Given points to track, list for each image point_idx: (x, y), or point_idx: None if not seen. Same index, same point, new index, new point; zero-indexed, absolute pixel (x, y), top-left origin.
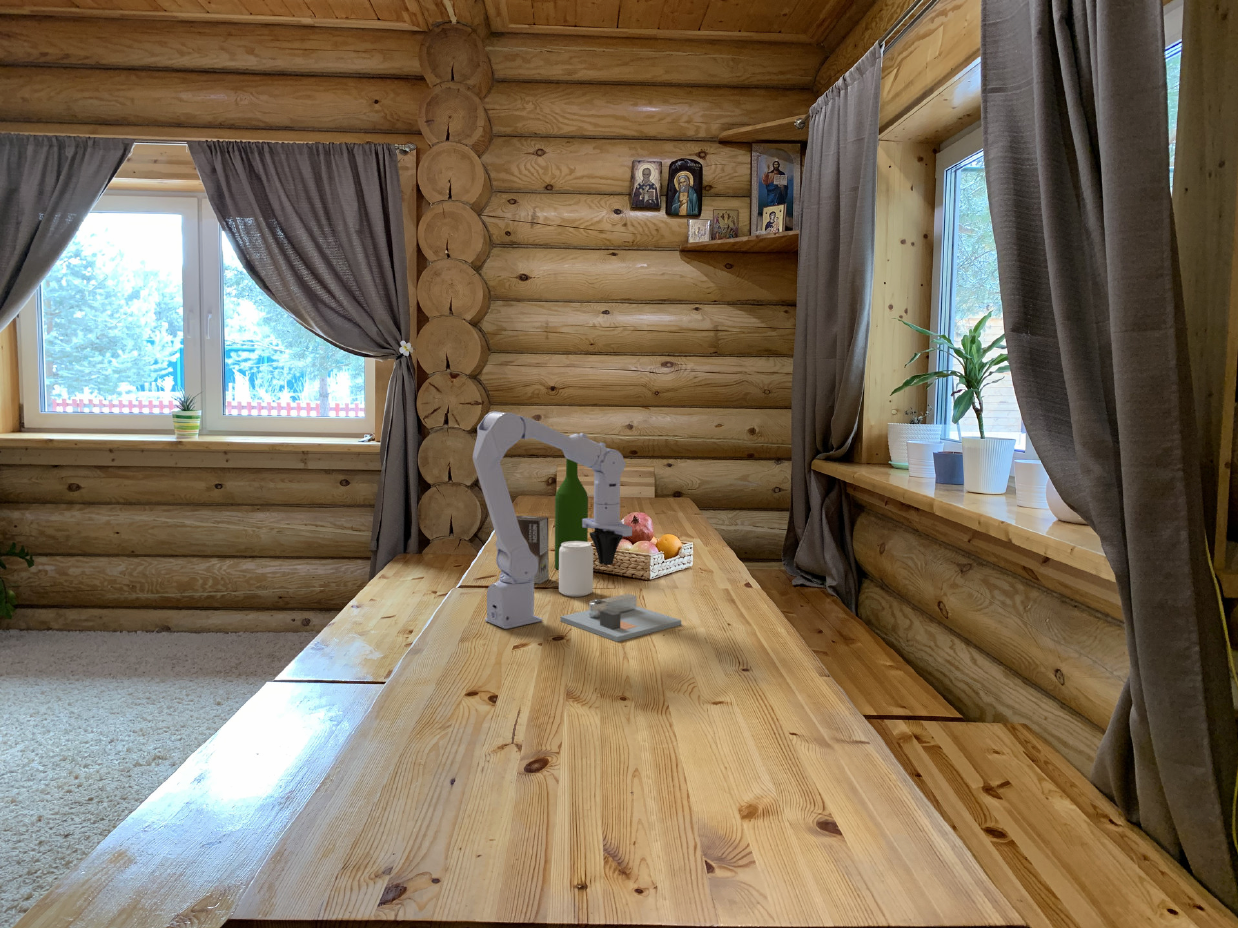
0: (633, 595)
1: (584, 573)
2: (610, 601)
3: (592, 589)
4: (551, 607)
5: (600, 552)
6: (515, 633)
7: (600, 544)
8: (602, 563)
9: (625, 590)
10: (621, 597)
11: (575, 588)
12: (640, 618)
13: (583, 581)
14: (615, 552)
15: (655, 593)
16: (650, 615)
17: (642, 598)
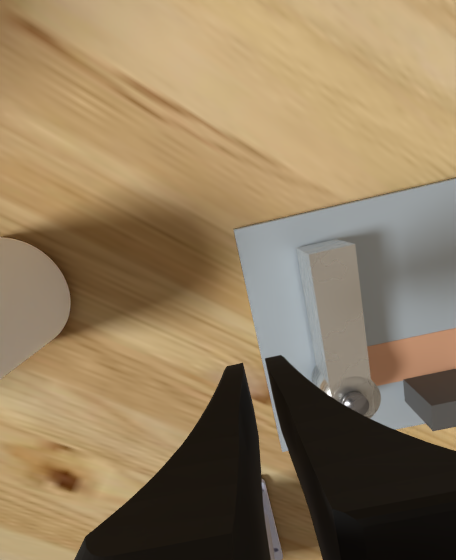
0: (344, 252)
1: (19, 319)
2: (367, 363)
3: (34, 250)
4: (151, 415)
5: (260, 477)
6: (314, 544)
7: (267, 548)
8: (252, 404)
9: (30, 104)
10: (344, 306)
11: (54, 329)
12: (420, 276)
13: (43, 311)
14: (317, 387)
15: (114, 5)
16: (412, 230)
17: (164, 106)
